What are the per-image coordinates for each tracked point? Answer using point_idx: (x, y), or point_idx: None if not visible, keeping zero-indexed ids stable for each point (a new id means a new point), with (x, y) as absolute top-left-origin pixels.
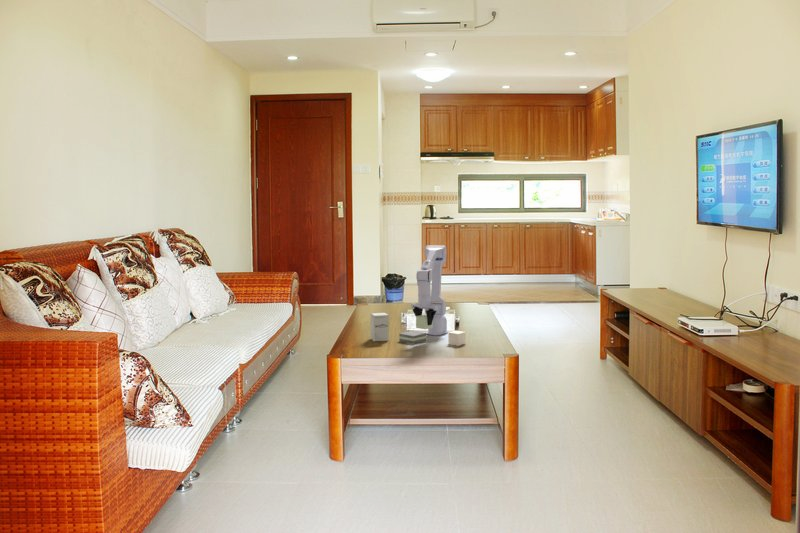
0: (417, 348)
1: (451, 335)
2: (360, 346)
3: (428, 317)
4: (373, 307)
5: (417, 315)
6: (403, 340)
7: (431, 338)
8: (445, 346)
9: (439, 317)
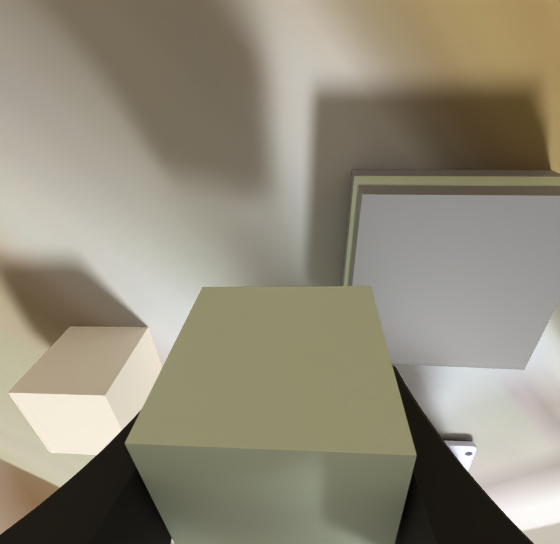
0: (174, 23)
1: (87, 376)
2: None
3: (102, 468)
4: None
5: (418, 498)
6: (498, 173)
7: None
8: (96, 263)
9: None
